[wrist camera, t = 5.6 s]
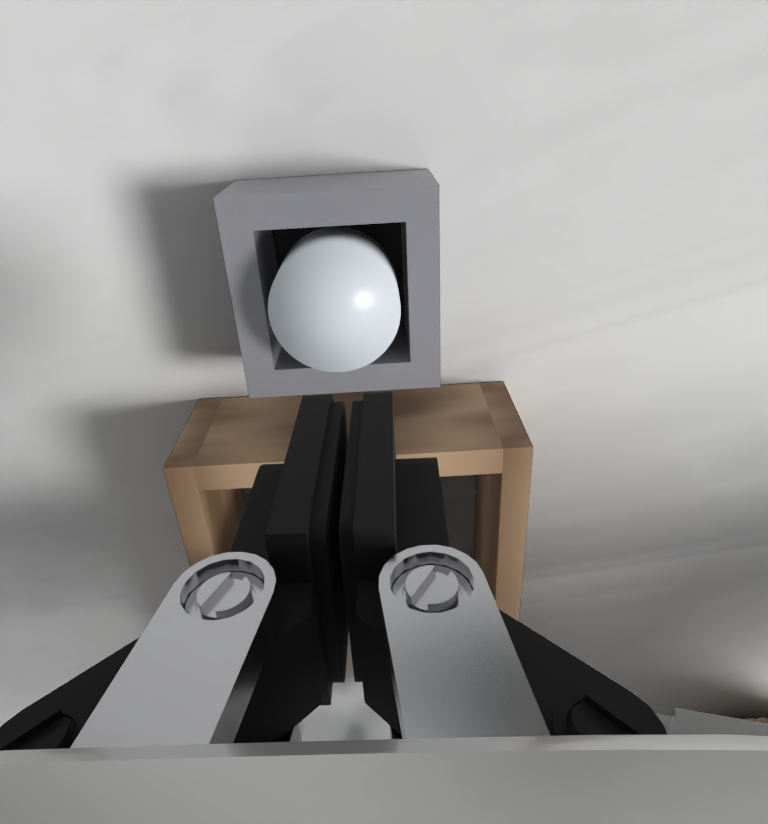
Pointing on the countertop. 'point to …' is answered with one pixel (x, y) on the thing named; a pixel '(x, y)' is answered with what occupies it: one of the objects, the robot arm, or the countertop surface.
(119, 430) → the countertop surface
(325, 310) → the white domed push button
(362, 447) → the robot arm
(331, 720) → the plastic bottle
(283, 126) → the countertop surface
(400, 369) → the button housing
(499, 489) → the walnut bottle rack
